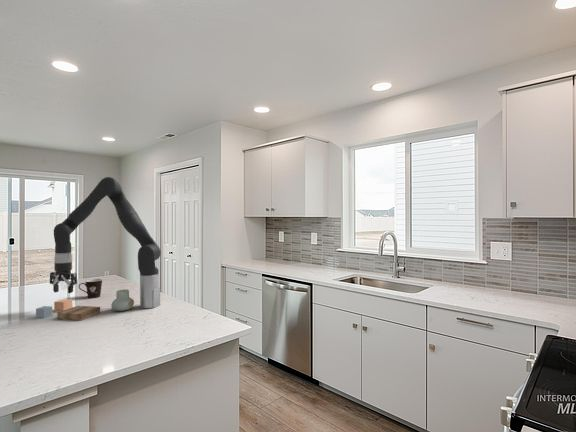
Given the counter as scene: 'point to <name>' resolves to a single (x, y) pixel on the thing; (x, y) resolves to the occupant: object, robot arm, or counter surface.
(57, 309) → the terracotta block
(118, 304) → the air freshener
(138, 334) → the counter surface
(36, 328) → the counter surface
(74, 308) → the walnut plinth
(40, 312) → the slate block
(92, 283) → the coffee mug
